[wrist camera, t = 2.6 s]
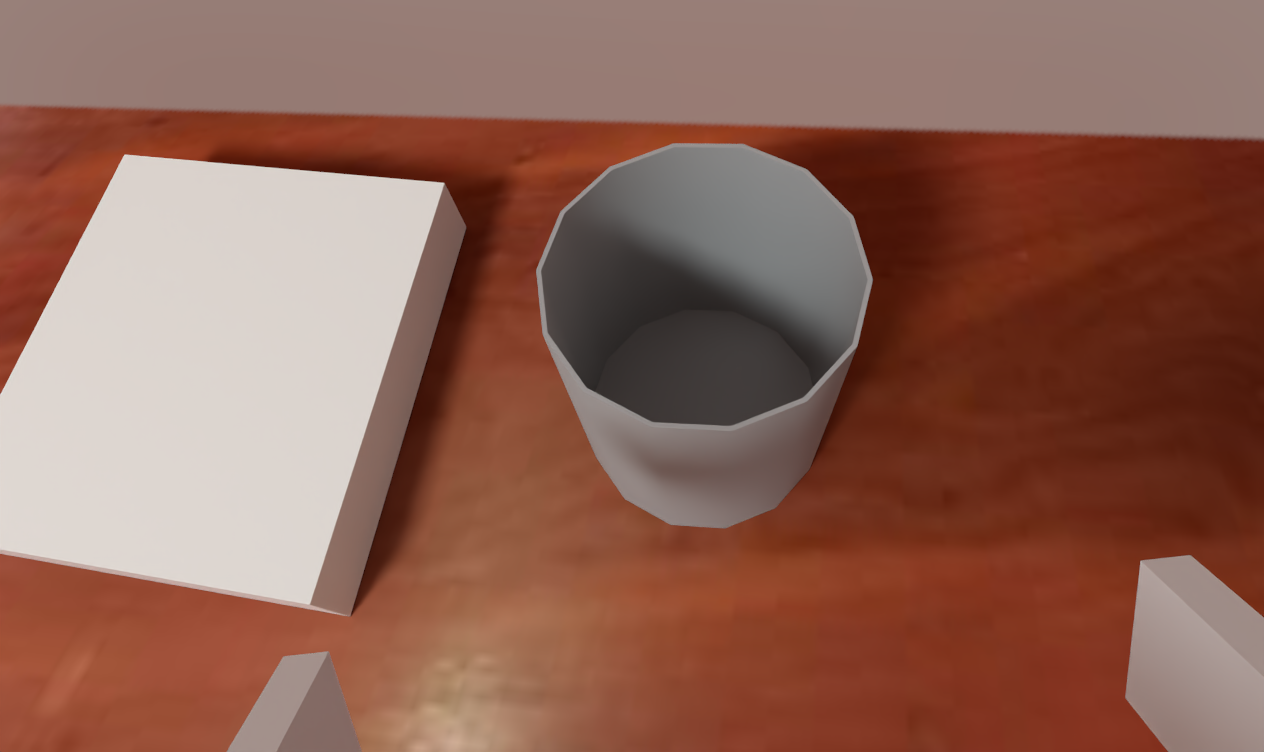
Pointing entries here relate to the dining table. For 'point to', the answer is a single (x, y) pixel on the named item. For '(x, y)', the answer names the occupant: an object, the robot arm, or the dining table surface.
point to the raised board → (227, 378)
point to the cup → (704, 325)
